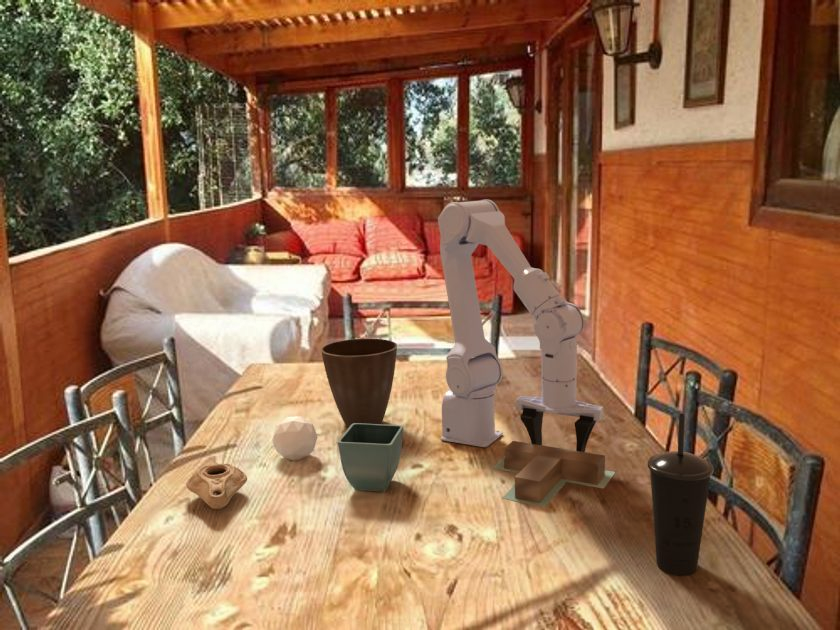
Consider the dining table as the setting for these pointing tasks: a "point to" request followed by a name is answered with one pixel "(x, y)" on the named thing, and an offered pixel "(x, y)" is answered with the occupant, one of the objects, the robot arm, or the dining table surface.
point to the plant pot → (360, 377)
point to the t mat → (511, 493)
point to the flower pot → (370, 455)
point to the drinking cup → (679, 506)
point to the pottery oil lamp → (216, 483)
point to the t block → (549, 468)
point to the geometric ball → (294, 438)
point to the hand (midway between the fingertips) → (558, 454)
